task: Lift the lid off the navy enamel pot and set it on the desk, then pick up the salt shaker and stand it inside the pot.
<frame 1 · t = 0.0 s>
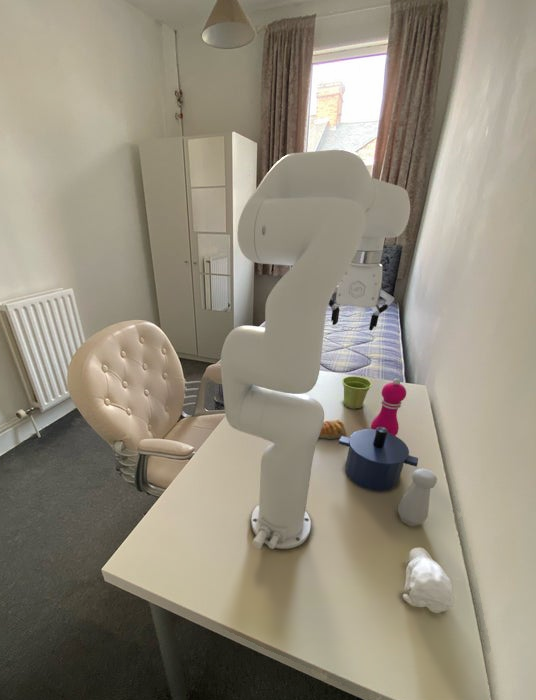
hand: (352, 326, 90), 31 cm above the table, tool pointing down, fingers open, 9 cm apart
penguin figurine: (418, 587, 59), on the table
plant pot: (352, 405, 115), on the table
pot: (371, 473, 85), on the table
pastry: (329, 434, 100), on the table
salt shaker: (409, 519, 73), on the table
lid: (377, 446, 81), point 8 cm above the table, touching pot
pepper mill: (381, 440, 97), on the table
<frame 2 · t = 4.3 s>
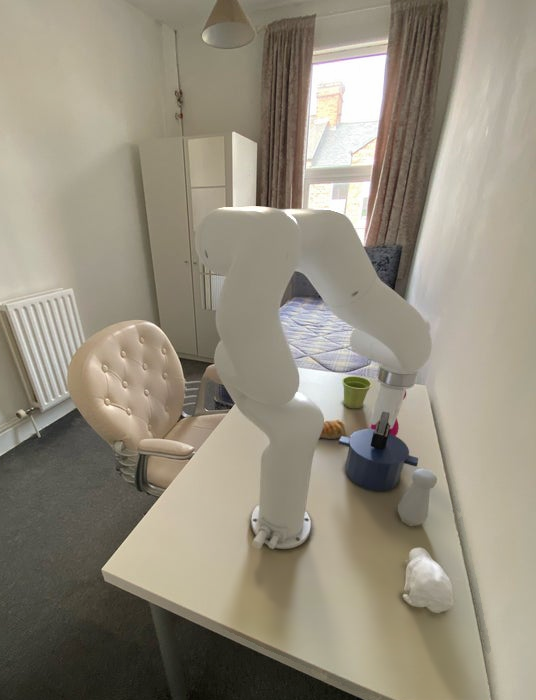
hand: (378, 443, 80), 9 cm above the table, tool pointing down, fingers closed on lid, 2 cm apart
lid: (377, 446, 81), point 9 cm above the table, touching gripper, pot
everything else where it was.
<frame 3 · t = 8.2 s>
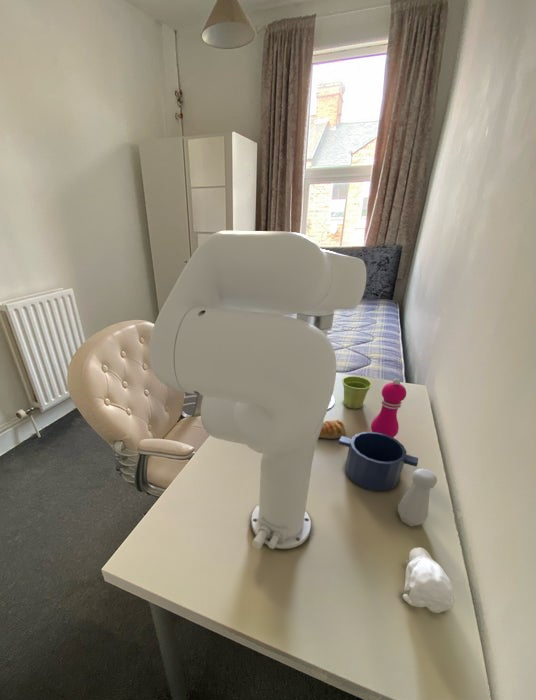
hand: (305, 395, 79), 20 cm above the table, tool pointing down, fingers closed on lid, 2 cm apart
lid: (305, 399, 80), point 19 cm above the table, touching gripper
everything else where it was.
when the fingers open (2 cm above the table, at t = 12.3 s): lid stays where it is, point 1 cm above the table.
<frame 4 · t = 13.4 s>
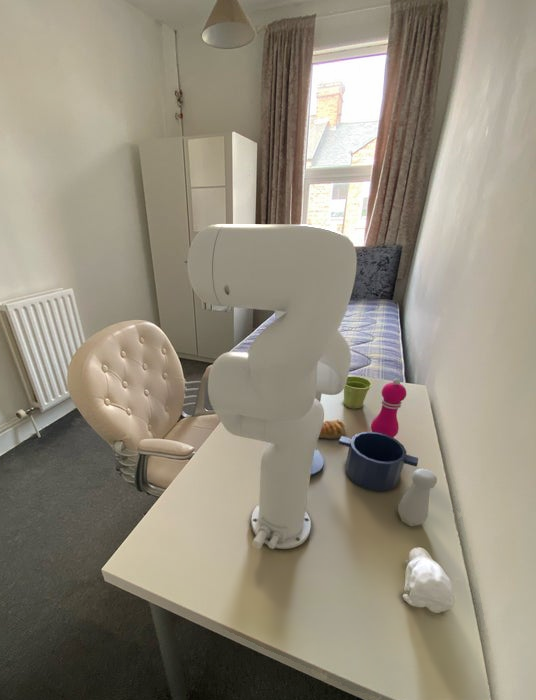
hand: (298, 453, 87), 3 cm above the table, tool pointing down, fingers open, 9 cm apart
lid: (297, 459, 89), point 1 cm above the table
everything else where it was.
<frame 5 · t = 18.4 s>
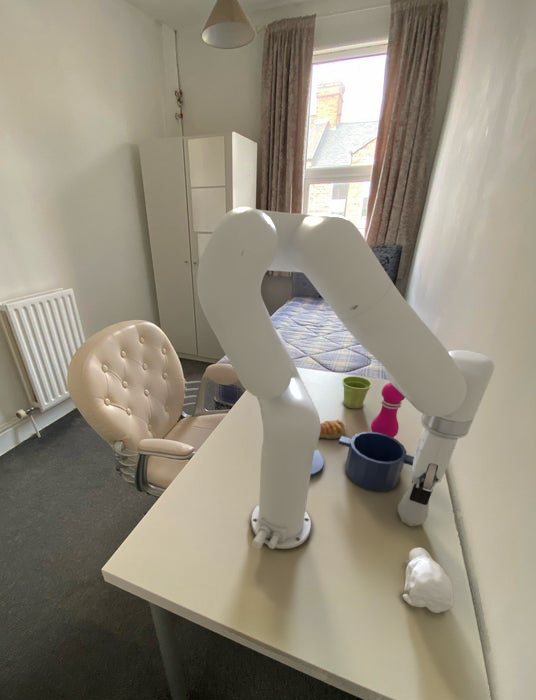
hand: (419, 493, 69), 8 cm above the table, tool pointing down, fingers closed on salt shaker, 4 cm apart
salt shaker: (409, 519, 73), on the table, touching gripper
everything else where it was.
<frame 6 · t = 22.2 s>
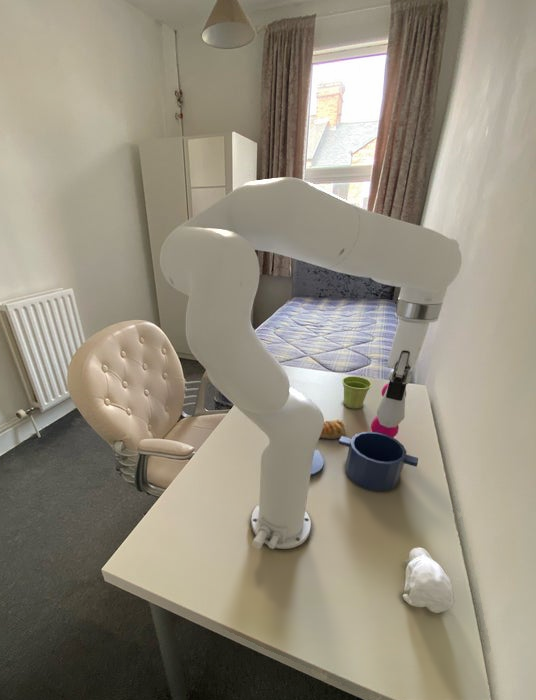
hand: (395, 393, 72), 24 cm above the table, tool pointing down, fingers closed on salt shaker, 4 cm apart
salt shaker: (387, 423, 76), point 16 cm above the table, touching gripper
everything else where it was.
when the fingers open (8 cm above the table, at t = 26.0 s): salt shaker stays where it is, resting on pot.
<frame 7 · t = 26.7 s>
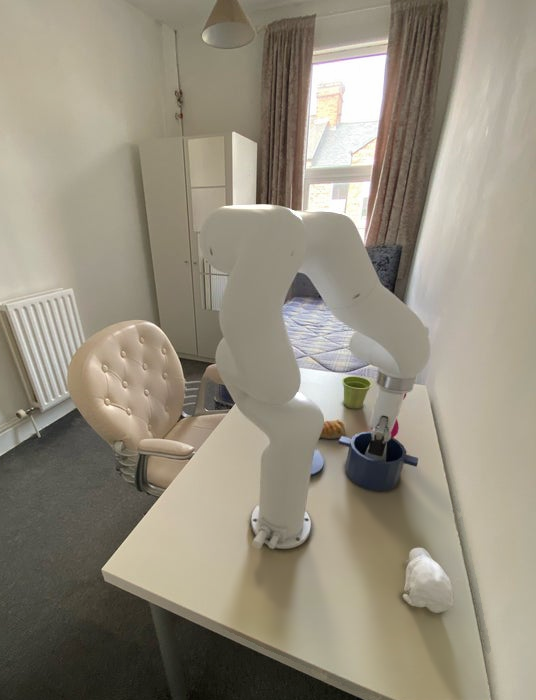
hand: (378, 443, 80), 10 cm above the table, tool pointing down, fingers open, 9 cm apart
salt shaker: (371, 472, 85), resting on pot
everything else where it was.
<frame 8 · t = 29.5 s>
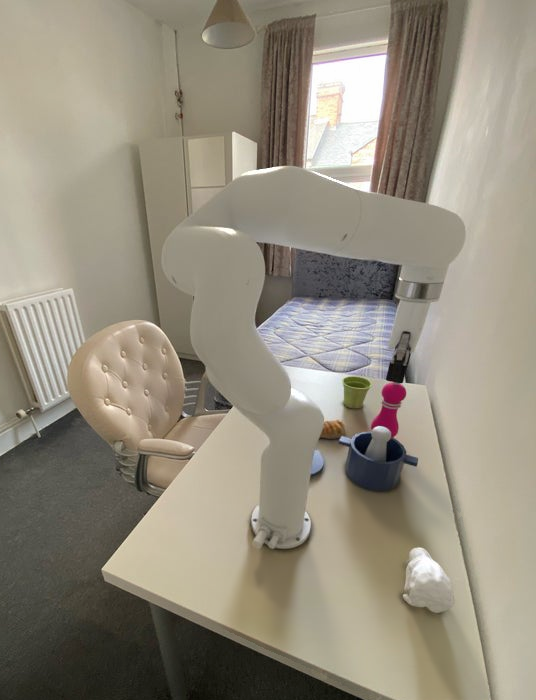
hand: (397, 372, 71), 28 cm above the table, tool pointing down, fingers open, 9 cm apart
nothing on the table moved.
at the end: lid inside the target area (0.3 cm from its centre), point 0.6 cm above the table; salt shaker 0.0 cm off-centre in the pot, point 0.3 cm above the pot's base; salt shaker tilted 0° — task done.
